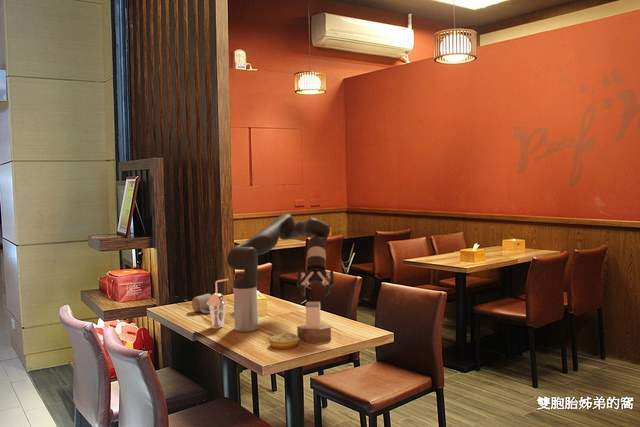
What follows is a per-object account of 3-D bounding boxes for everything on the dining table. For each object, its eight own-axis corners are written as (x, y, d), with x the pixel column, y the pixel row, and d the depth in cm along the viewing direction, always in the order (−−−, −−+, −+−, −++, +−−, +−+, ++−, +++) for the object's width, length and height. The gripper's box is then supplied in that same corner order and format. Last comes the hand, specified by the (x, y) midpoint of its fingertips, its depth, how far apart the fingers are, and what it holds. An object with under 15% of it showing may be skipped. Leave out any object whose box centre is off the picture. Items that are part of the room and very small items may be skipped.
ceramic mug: (191, 311, 265) (190, 295, 265) (206, 308, 271) (206, 292, 270) (202, 315, 257) (201, 298, 257) (218, 312, 262) (217, 296, 262)
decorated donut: (303, 343, 211) (303, 332, 211) (291, 351, 201) (291, 340, 201) (277, 340, 215) (277, 330, 214) (264, 348, 205) (264, 338, 204)
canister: (307, 325, 217) (306, 301, 217) (320, 325, 217) (320, 301, 217) (306, 328, 213) (305, 304, 212) (319, 328, 212) (319, 304, 212)
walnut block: (297, 338, 216) (297, 326, 216) (317, 334, 221) (316, 322, 221) (311, 343, 209) (310, 331, 208) (331, 339, 214) (330, 327, 214)
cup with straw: (217, 323, 242) (215, 276, 241) (233, 325, 237) (232, 277, 236) (203, 328, 235) (201, 279, 234) (220, 330, 230) (218, 281, 229)
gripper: (334, 265, 231) (334, 300, 221) (299, 266, 232) (297, 300, 221) (333, 254, 225) (333, 289, 215) (297, 255, 226) (295, 290, 216)
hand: (315, 295), depth 218 cm, fingers open, 8 cm apart
